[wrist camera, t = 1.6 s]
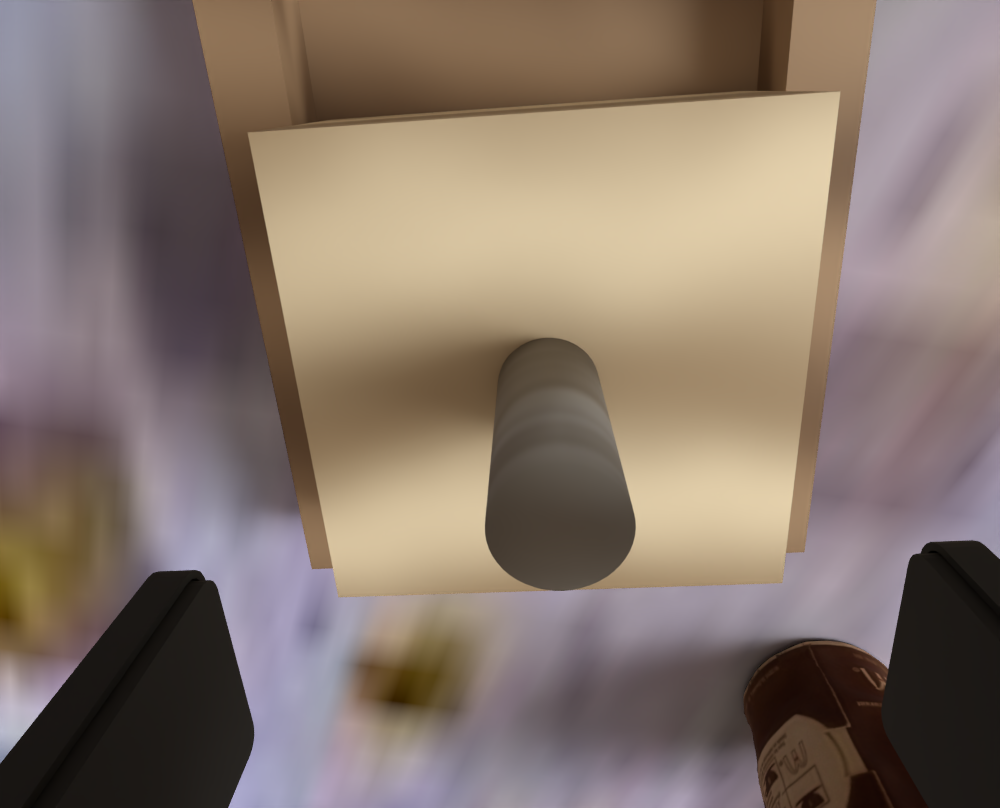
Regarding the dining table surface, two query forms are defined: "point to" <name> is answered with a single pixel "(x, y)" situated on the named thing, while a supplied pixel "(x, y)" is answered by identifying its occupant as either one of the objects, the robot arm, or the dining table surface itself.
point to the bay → (512, 83)
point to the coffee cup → (825, 731)
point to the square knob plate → (553, 336)
